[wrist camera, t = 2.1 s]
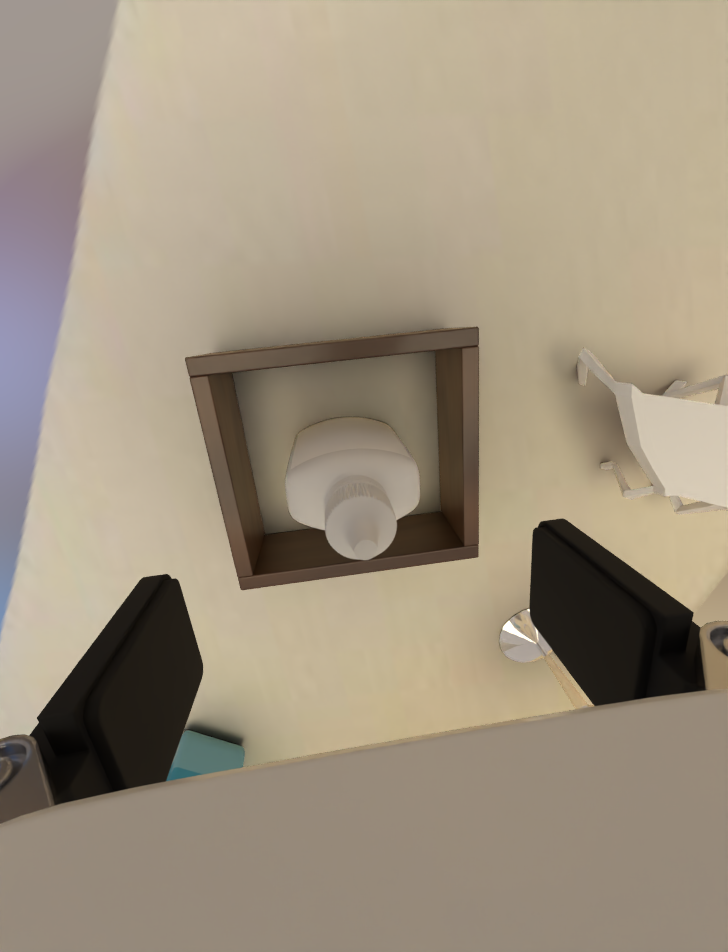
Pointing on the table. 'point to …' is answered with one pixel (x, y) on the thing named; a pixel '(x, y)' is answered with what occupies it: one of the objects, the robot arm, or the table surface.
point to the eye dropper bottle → (352, 483)
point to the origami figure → (672, 439)
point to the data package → (204, 756)
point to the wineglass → (534, 651)
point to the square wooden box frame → (309, 549)
